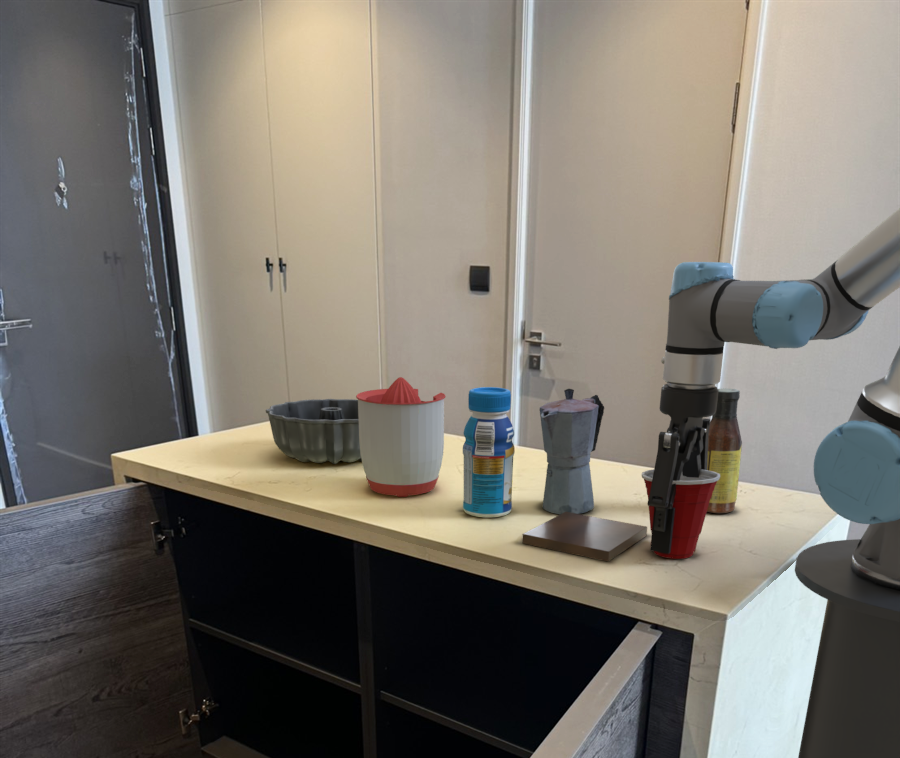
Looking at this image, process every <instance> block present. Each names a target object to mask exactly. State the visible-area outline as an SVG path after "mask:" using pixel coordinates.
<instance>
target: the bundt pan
mask: <svg viewBox="0 0 900 758" xmlns="http://www.w3.org/2000/svg"><path fill="white" fill-rule="evenodd" d="M265 413H266V414H267V416H268V420H269V425H270V429H271V433H272V438H273V441H274V443H275V445H276V447H277V448H278V449H279V450H280V451H281V452H282V453H283V454H284V455H285V456H287V457H289V458H292V459H295V460H297V461H299V462H302V463H309V462H313V463H316V464H322V463H326V462H330V463H331V464H332V465H336V464H338V463H339V462H340V461H342V462H343V463H353V462H356V461H361V462H362V459H361V454H360V443H359V416H358V399H352V398H351V399H350V398H340V399H339V398H325V399H320V398H319V399H318V398H316V399H314V398H313V399H300V400H296V401H285V402H284V403H278V404H272V405H271V406H269V408H266V409H265Z"/></svg>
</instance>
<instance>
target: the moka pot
mask: <svg viewBox="0 0 900 758" xmlns="http://www.w3.org/2000/svg"><path fill="white" fill-rule="evenodd" d="M563 391H564V397H565V398H564V399H559V400H554V401H549V402H546V403H545V404H543V405H541V406H540V407H539V416H540V426H541V433H542V434H541V435H542V441H543V442H542V443H543V450H544V453H546V462H547V466H546V474H545V484H544V490H543V491H544V492H543V500H542V509H543V510H545V512H548V513H551V514H556V515H560V514H562V513H564V512H570V513H576V514H586V513H587V512H589V511H592V510H593V509H594V508H595V502H594V491H593V482H592V474H591V466H590V462H591V453H592V452H594V451H596V447H597V444H598V440H599V434H600V431H601V424H602V420H603V416H604V414H605V411H604V410H605V406H604V404H603V402H602V401H601V400H600V397H599V395H598V394H594V395H593V396H591V397H587V398H583V399H576V398H574V392H575V390H574V389H573V388H566V389H564V390H563Z"/></svg>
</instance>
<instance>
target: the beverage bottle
mask: <svg viewBox="0 0 900 758" xmlns="http://www.w3.org/2000/svg"><path fill="white" fill-rule="evenodd" d="M467 400H468V401H467V402H468V403H467V405H468V411H469V412H470V413H472V414H471V415H470V417H469V418H468V419H467V421H466V423H465V426H464V429H463V436H464V439H465V441H464V443H463V445H462V454H463V500H462V510H463V511H464V512H465V514H467V515H469V516H472V517H476V518H487V519H488V518H489V519H491V518H499V517H504V516H506V515H509V514H510V513H511V512H512V509H513V501H512V499H513V473H514V456H515V445H514V442H513V438H514V436H515V429H514V425H513V423H512V421H511V420H510V417H509V416H508V414H507V413H510V412H511V407H512V406H511V404H512V394H511V390H510V389H508V388H504V387H497V386H495V387H494V386H485V387H484V386H483V387H475V388H471V389H469V391H468V399H467Z"/></svg>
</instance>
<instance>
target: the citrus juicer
mask: <svg viewBox="0 0 900 758" xmlns="http://www.w3.org/2000/svg"><path fill="white" fill-rule="evenodd" d="M355 398H356V400H358V416H359V443H360V454H361V459H362V461H361V463H362V468H363V470H364V474H365V478H366V481H367V484H368V485H369V486H368V487H369V488H370V490H372V491H373V492H375V493H378V494H380V495H381V494H382V495H387V496H395V497H398V498H407V497H409V496H415V495H416V496H417V495H422V494H426V493H429V492H432V491H433V490H434V489H435V487H436V484H437V483H438V480H439V478H440V477H439V476H440V471H441V469H442V463H443V458H444V449H445V447H444V446H445V399H446V394H445V393H443V392H439V393H437V394H435V395H433V396H432V400H427V401H425V400H421V398H420V396H419V388H414V387H413V386H412V385H411V384H410V383H409V382H408V381H407V380H406V379H405V378H404V377H401V376H400V377H397V378H396V379H395V380H394V381H393V382H392V383H391V385H390V386H389V387H388V388H379V389H371V390H366V391H361V392H359V393H357V394H356V396H355Z"/></svg>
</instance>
